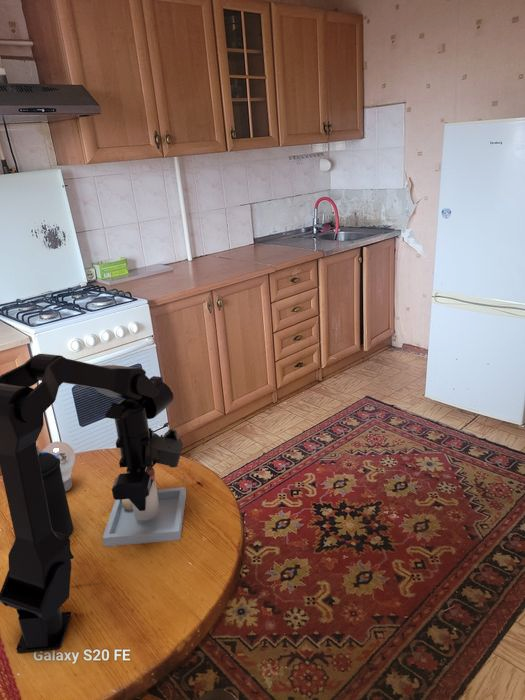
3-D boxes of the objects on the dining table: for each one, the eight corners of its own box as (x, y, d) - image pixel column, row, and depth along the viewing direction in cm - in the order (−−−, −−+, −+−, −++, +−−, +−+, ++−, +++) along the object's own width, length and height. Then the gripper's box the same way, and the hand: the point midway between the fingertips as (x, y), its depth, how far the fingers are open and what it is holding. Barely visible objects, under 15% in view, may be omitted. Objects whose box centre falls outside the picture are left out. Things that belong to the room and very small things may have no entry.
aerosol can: (59, 553, 99) (37, 459, 92) (21, 548, 100) (-4, 456, 94) (83, 524, 106) (64, 435, 99) (46, 520, 108) (26, 432, 101)
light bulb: (66, 479, 122) (55, 433, 118) (88, 486, 119) (78, 438, 114) (41, 496, 116) (29, 448, 112) (64, 504, 113) (53, 454, 109)
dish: (180, 542, 99) (178, 531, 98) (104, 549, 99) (102, 538, 98) (186, 497, 112) (185, 487, 112) (119, 503, 112) (117, 492, 111)
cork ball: (137, 512, 108) (135, 499, 107) (121, 513, 108) (119, 500, 106) (140, 502, 111) (137, 489, 110) (124, 504, 111) (122, 491, 109)
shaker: (158, 519, 102) (152, 479, 99) (131, 522, 102) (124, 481, 99) (161, 503, 107) (156, 464, 104) (135, 505, 107) (129, 466, 104)
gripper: (171, 453, 90) (182, 529, 95) (181, 405, 108) (189, 471, 113) (104, 458, 90) (119, 535, 95) (125, 409, 107) (136, 476, 113)
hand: (144, 501), depth 104 cm, fingers closed on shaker, 5 cm apart
